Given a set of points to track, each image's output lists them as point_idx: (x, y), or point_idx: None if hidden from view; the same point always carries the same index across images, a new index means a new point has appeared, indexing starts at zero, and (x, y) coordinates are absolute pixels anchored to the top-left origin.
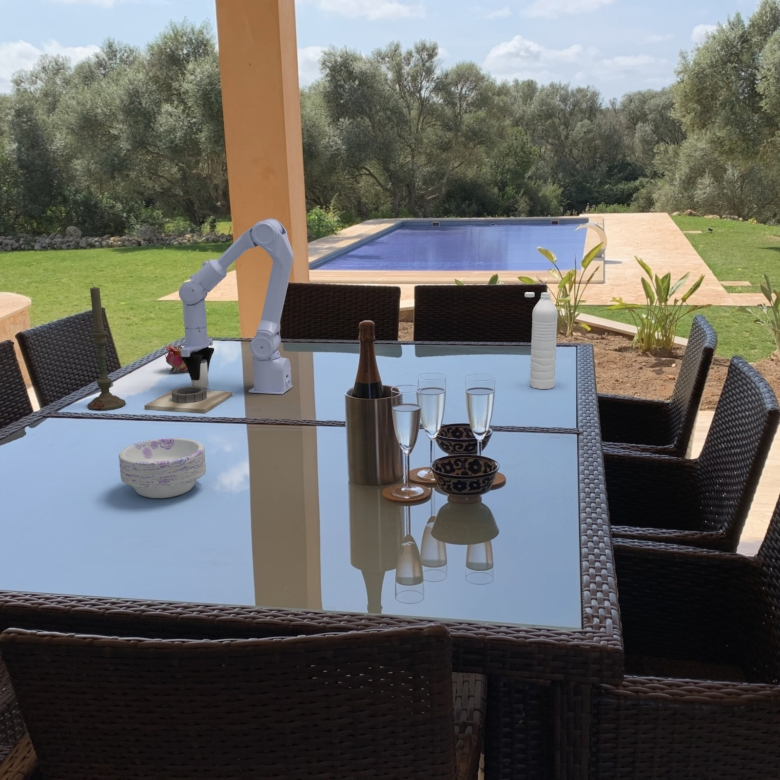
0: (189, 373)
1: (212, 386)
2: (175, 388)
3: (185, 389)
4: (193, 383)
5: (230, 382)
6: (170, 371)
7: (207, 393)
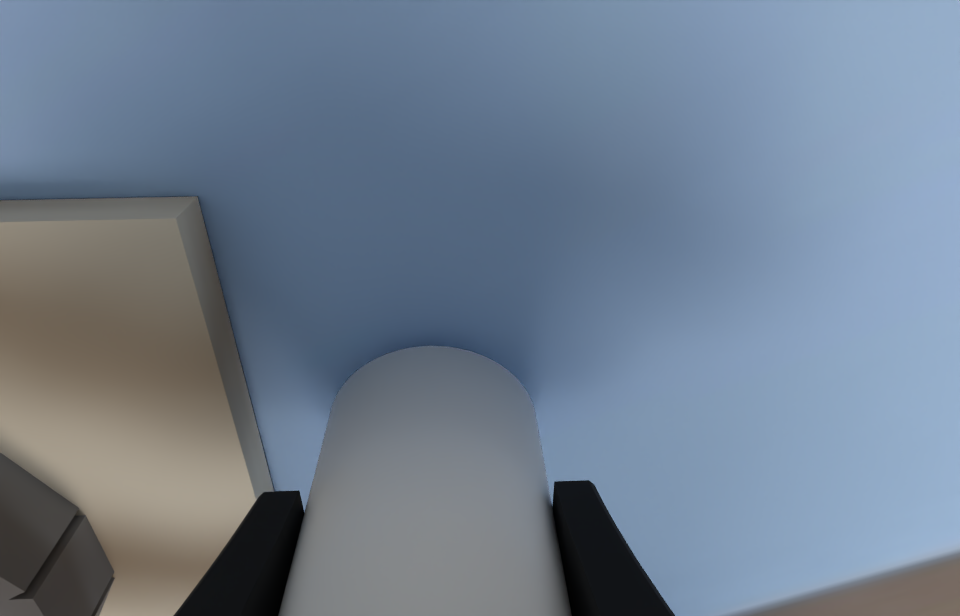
0: (205, 581)
1: (578, 461)
2: (171, 221)
3: None
4: (322, 448)
5: (749, 535)
6: None
7: (173, 604)
